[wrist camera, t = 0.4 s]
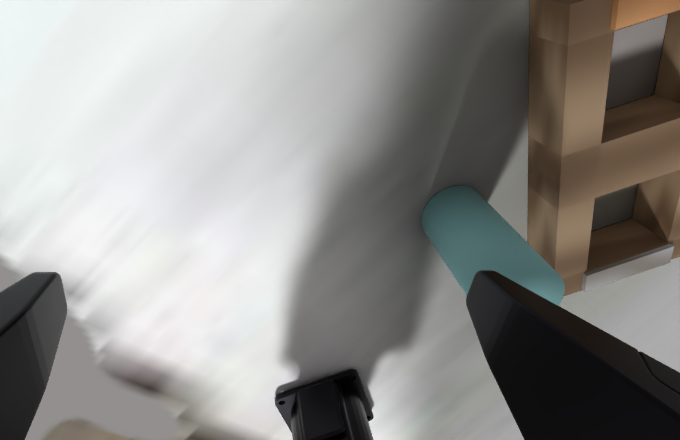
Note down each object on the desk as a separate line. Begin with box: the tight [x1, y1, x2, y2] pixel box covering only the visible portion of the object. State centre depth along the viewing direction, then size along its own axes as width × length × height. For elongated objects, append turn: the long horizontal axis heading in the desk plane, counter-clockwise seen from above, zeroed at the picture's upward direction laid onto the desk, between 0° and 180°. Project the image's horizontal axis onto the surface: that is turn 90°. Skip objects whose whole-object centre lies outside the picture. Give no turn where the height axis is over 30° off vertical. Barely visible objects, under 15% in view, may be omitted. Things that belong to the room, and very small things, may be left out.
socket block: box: [528, 0, 680, 296], centre depth 24 cm, size 18×10×3 cm, turn 14°
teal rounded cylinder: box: [421, 186, 565, 306], centre depth 23 cm, size 4×4×8 cm
